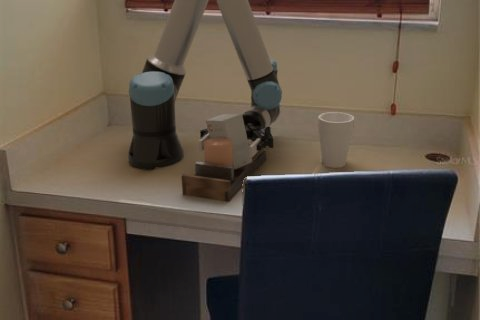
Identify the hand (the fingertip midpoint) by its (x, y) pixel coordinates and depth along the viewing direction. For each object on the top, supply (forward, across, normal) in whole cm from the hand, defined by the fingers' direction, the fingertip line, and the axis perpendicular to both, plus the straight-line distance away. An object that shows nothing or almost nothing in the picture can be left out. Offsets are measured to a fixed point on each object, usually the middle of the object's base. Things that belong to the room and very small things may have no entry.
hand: (224, 149), depth 153 cm
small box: (-5, 0, -6) cm, 8 cm away
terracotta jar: (+2, +1, -8) cm, 8 cm away
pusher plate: (+7, 0, -7) cm, 10 cm away
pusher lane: (-1, 0, -9) cm, 9 cm away
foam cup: (-20, -24, -9) cm, 32 cm away
